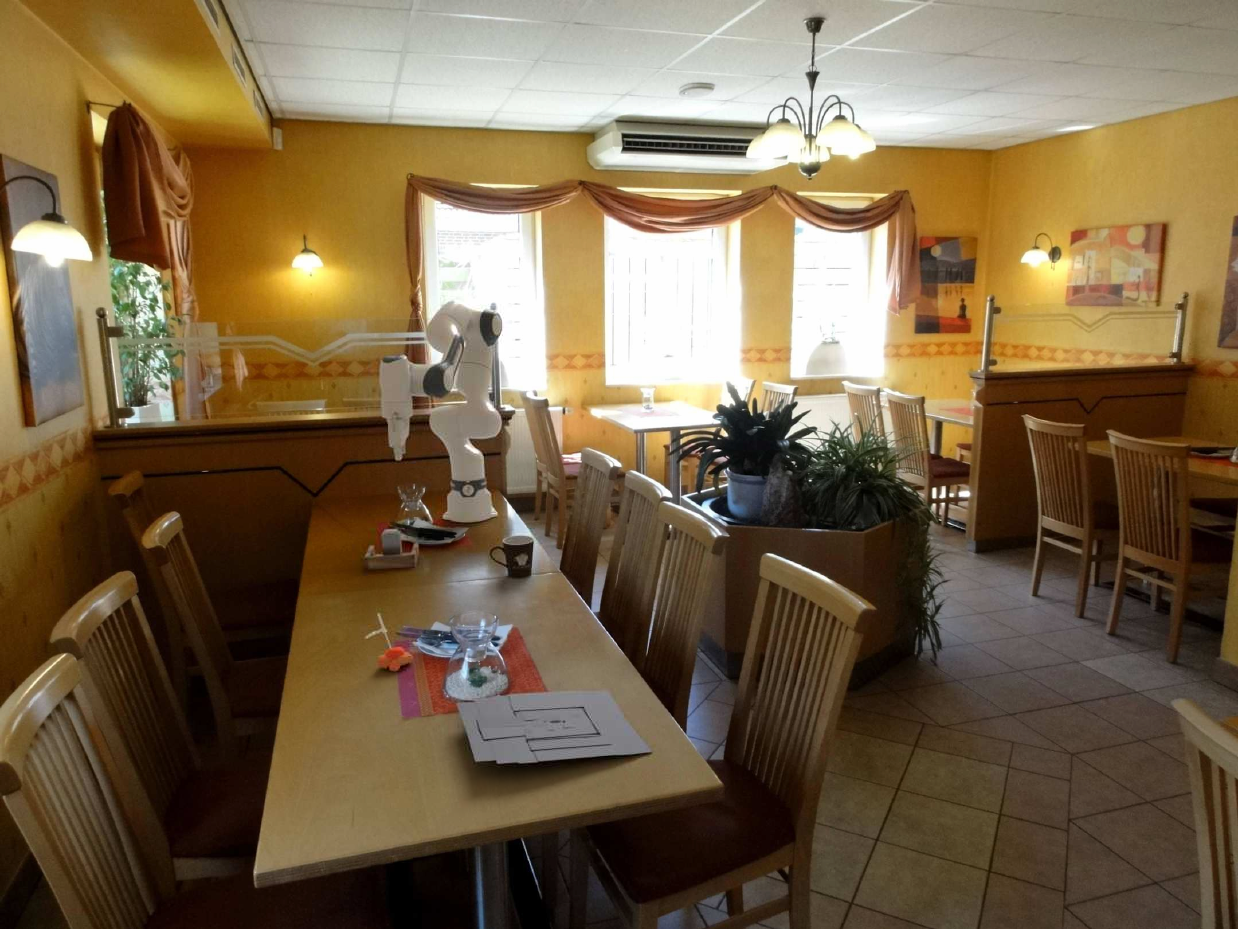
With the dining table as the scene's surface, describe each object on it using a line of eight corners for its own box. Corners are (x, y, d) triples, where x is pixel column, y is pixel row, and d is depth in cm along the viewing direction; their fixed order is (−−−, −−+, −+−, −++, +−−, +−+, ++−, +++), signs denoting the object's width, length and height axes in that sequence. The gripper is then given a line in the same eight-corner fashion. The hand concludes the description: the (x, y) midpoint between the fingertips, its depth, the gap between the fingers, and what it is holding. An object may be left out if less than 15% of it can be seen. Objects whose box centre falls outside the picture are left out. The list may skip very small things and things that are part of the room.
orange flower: (365, 666, 178) (360, 613, 175) (410, 657, 182) (406, 605, 179) (370, 678, 172) (365, 623, 170) (416, 668, 176) (412, 614, 174)
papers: (453, 712, 156) (455, 693, 155) (606, 702, 166) (608, 685, 165) (476, 783, 133) (477, 762, 132) (651, 767, 143) (653, 747, 143)
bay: (371, 556, 250) (370, 545, 249) (419, 554, 252) (418, 542, 251) (364, 569, 238) (364, 558, 238) (415, 566, 240) (414, 555, 239)
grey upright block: (385, 557, 247) (382, 529, 245) (402, 556, 247) (400, 528, 246) (383, 561, 243) (381, 532, 242) (401, 560, 244) (399, 531, 242)
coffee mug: (538, 569, 236) (536, 535, 234) (532, 580, 228) (530, 545, 226) (497, 568, 238) (496, 535, 235) (490, 579, 229) (488, 544, 227)
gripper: (404, 415, 237) (407, 463, 240) (411, 405, 257) (414, 449, 260) (381, 416, 236) (385, 464, 239) (390, 406, 256) (393, 450, 259)
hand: (400, 456), depth 250 cm, fingers open, 8 cm apart
